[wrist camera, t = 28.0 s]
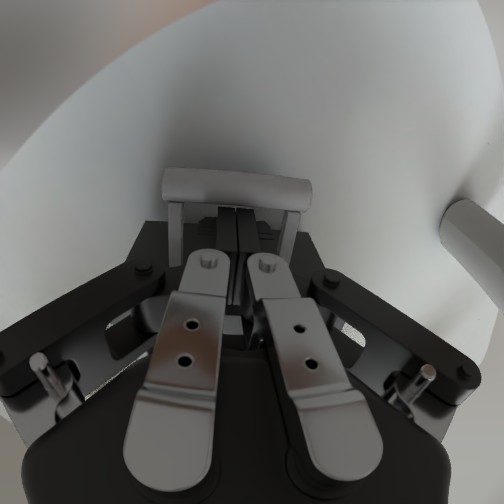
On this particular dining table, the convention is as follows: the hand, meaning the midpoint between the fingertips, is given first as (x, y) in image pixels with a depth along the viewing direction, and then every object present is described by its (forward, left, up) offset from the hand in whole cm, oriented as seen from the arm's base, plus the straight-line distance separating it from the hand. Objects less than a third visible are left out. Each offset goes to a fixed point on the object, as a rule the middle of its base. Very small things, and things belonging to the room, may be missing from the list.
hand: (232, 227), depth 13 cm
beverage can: (+4, +19, -6) cm, 20 cm away
